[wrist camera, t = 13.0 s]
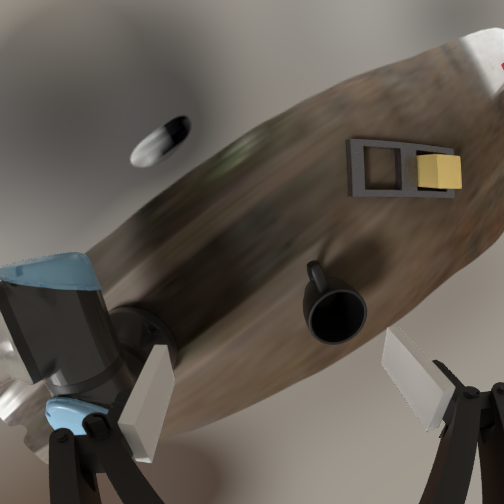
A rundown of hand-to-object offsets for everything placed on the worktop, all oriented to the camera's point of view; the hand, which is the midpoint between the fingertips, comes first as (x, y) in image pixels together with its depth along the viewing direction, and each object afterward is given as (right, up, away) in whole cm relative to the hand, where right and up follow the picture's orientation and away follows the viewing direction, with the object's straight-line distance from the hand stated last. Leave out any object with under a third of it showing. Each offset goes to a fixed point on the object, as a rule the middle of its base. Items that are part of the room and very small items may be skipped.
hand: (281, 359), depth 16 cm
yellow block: (+27, +20, +26) cm, 42 cm away
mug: (+8, +1, +30) cm, 31 cm away
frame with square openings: (+22, +19, +26) cm, 39 cm away
